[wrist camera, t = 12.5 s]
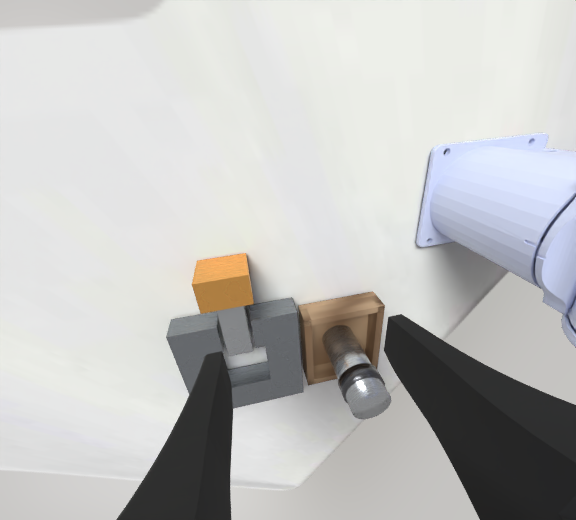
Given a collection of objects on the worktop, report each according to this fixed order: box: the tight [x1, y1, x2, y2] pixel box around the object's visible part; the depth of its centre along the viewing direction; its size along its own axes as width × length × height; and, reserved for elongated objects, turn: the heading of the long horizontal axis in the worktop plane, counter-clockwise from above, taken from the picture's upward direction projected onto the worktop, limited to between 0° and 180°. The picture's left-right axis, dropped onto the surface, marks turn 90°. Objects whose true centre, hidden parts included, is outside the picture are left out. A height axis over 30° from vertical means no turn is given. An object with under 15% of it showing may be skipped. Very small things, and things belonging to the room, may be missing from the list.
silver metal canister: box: [322, 325, 391, 419], centre depth 22 cm, size 3×3×7 cm
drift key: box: [192, 253, 254, 356], centre depth 21 cm, size 8×4×3 cm, turn 5°
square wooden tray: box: [298, 292, 385, 385], centre depth 25 cm, size 7×8×2 cm
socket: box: [166, 298, 303, 408], centre depth 24 cm, size 10×10×2 cm
